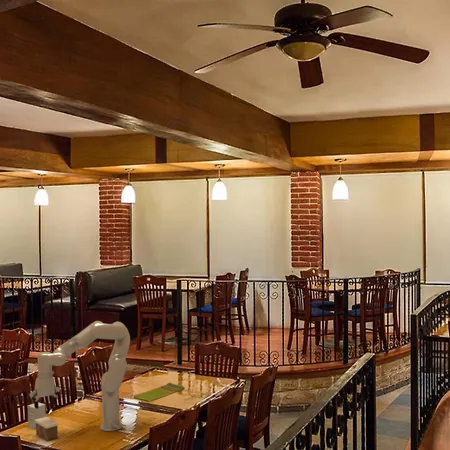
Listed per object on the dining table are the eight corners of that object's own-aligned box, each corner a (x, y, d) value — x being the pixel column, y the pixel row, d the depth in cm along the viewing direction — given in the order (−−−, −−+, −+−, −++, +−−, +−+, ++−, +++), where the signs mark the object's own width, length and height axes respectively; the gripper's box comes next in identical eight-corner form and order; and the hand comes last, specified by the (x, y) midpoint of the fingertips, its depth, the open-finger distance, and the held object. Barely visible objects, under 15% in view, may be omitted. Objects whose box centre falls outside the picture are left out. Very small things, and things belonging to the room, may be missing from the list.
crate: (57, 438, 306) (57, 425, 307) (47, 441, 302) (46, 428, 302) (46, 431, 317) (46, 419, 317) (36, 434, 313) (35, 422, 313)
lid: (58, 426, 306) (58, 423, 306) (46, 430, 302) (46, 426, 302) (46, 420, 318) (46, 416, 318) (34, 423, 313) (34, 419, 313)
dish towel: (185, 389, 394) (185, 385, 394) (149, 403, 366) (149, 398, 366) (169, 386, 404) (169, 382, 404) (132, 399, 375) (132, 394, 375)
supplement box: (39, 423, 331) (38, 402, 331) (46, 426, 327) (45, 404, 327) (27, 427, 326) (27, 405, 326) (34, 429, 321) (34, 407, 321)
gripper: (56, 371, 318) (56, 401, 318) (26, 376, 307) (26, 408, 306) (62, 373, 313) (62, 404, 313) (32, 379, 301) (32, 411, 301)
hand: (45, 406), depth 310 cm, fingers open, 9 cm apart
